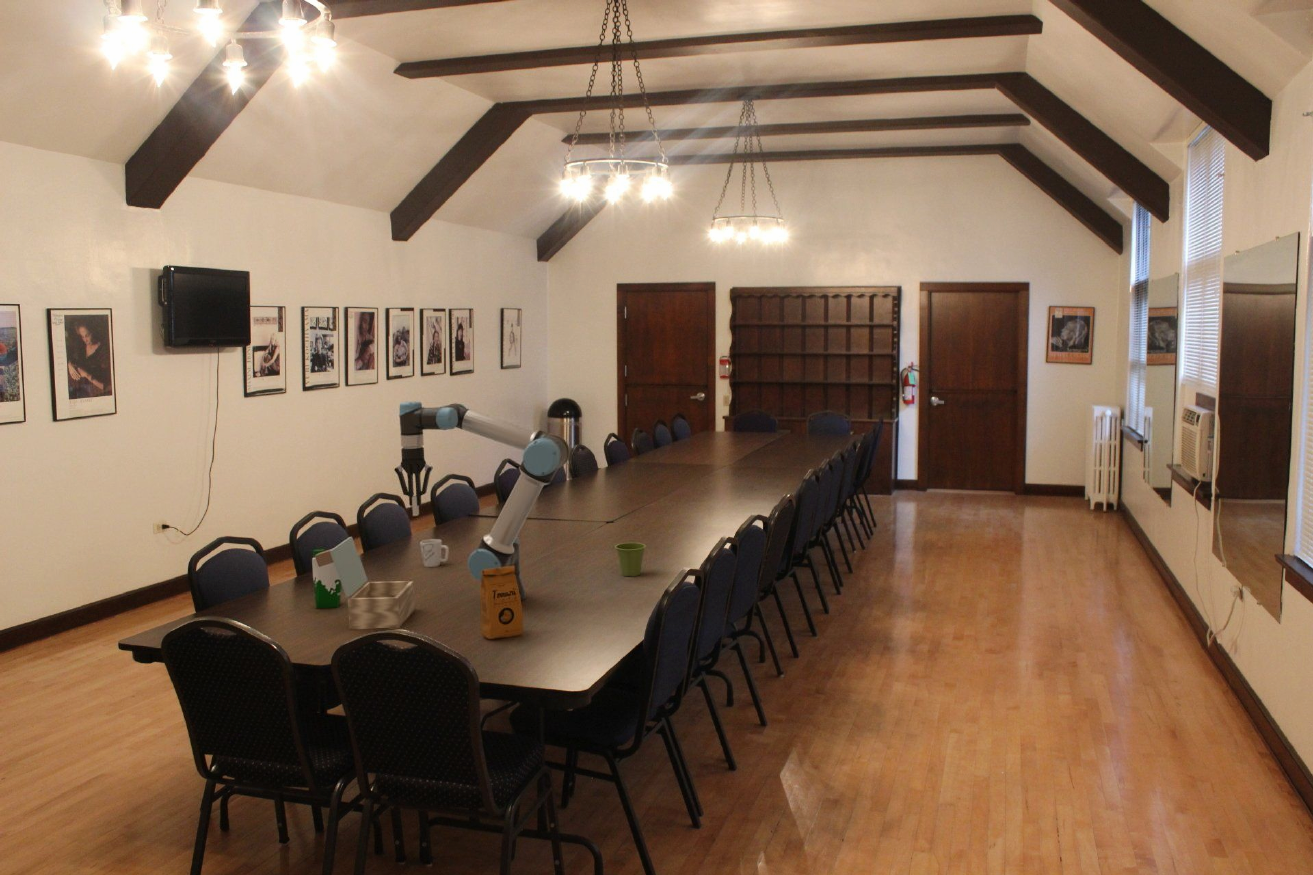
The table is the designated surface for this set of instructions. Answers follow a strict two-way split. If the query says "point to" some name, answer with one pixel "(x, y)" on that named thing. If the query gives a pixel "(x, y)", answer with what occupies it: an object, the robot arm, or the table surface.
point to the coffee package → (500, 603)
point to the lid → (345, 565)
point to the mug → (433, 552)
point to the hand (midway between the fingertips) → (415, 514)
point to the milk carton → (325, 584)
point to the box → (381, 605)
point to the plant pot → (630, 558)
